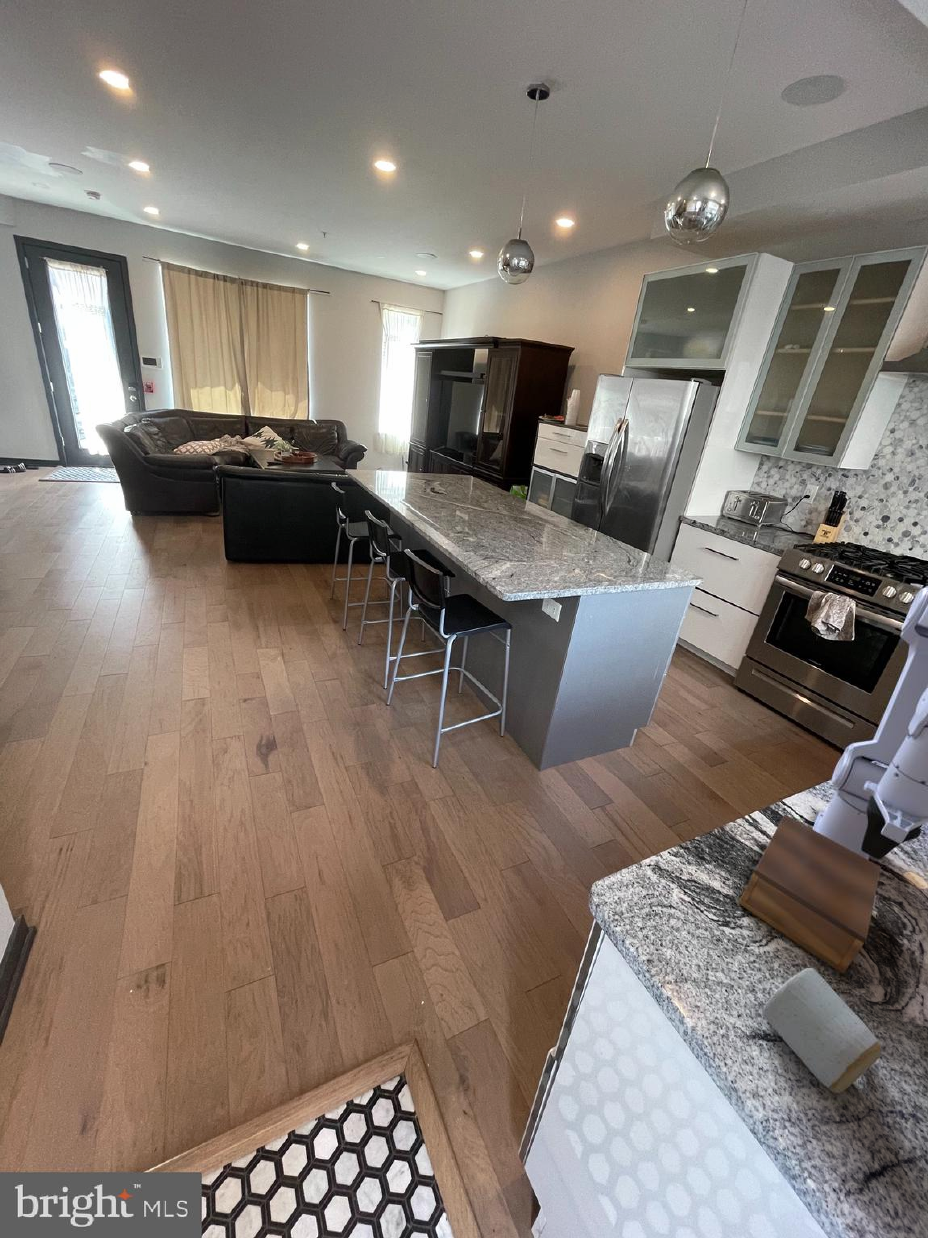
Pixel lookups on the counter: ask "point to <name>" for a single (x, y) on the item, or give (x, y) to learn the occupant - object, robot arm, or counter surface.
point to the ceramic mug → (822, 1030)
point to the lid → (821, 876)
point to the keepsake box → (800, 923)
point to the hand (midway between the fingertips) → (870, 852)
